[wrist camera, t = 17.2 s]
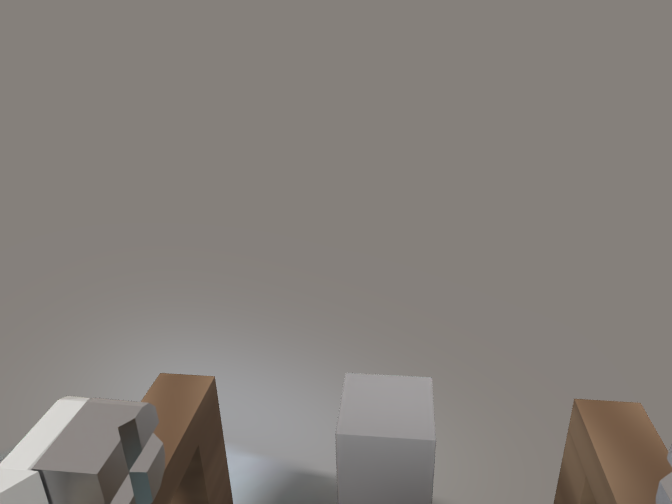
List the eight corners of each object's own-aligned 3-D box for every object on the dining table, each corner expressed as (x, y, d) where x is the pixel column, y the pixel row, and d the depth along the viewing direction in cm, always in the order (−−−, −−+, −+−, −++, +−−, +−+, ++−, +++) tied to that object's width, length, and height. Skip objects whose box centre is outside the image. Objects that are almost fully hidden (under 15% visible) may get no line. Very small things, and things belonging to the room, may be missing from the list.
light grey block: (345, 372, 32) (348, 484, 36) (335, 433, 27) (339, 554, 31) (431, 377, 31) (425, 490, 35) (435, 440, 27) (427, 563, 30)
